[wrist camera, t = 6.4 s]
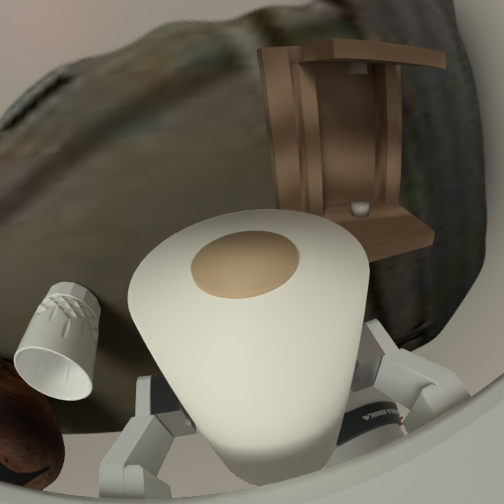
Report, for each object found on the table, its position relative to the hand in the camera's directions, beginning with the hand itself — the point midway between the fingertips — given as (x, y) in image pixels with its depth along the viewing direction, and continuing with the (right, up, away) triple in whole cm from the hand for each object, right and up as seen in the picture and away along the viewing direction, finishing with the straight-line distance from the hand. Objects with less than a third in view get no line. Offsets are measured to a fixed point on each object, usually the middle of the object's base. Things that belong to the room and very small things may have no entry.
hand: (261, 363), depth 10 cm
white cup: (-20, -2, +19) cm, 28 cm away
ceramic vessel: (-37, -15, +23) cm, 46 cm away
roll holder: (+7, +15, +16) cm, 23 cm away
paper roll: (0, +1, +2) cm, 2 cm away
